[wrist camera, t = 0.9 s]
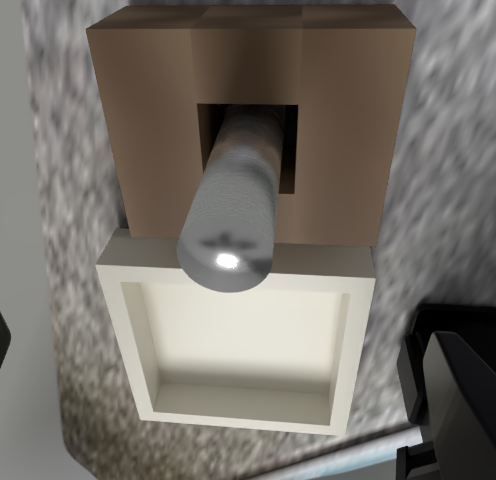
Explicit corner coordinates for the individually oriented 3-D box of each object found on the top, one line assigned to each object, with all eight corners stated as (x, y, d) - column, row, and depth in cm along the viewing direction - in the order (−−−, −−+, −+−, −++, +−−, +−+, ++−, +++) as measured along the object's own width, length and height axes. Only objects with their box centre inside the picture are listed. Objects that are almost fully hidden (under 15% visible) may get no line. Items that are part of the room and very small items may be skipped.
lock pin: (286, 81, 18) (273, 218, 10) (284, 137, 20) (272, 295, 12) (228, 81, 18) (171, 214, 11) (230, 136, 20) (182, 290, 12)
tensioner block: (394, 4, 16) (416, 28, 13) (364, 195, 21) (375, 247, 18) (126, 5, 17) (85, 29, 14) (156, 188, 22) (130, 236, 19)
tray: (368, 238, 22) (375, 278, 20) (341, 394, 30) (344, 436, 28) (116, 228, 24) (95, 264, 21) (152, 380, 31) (140, 419, 29)
